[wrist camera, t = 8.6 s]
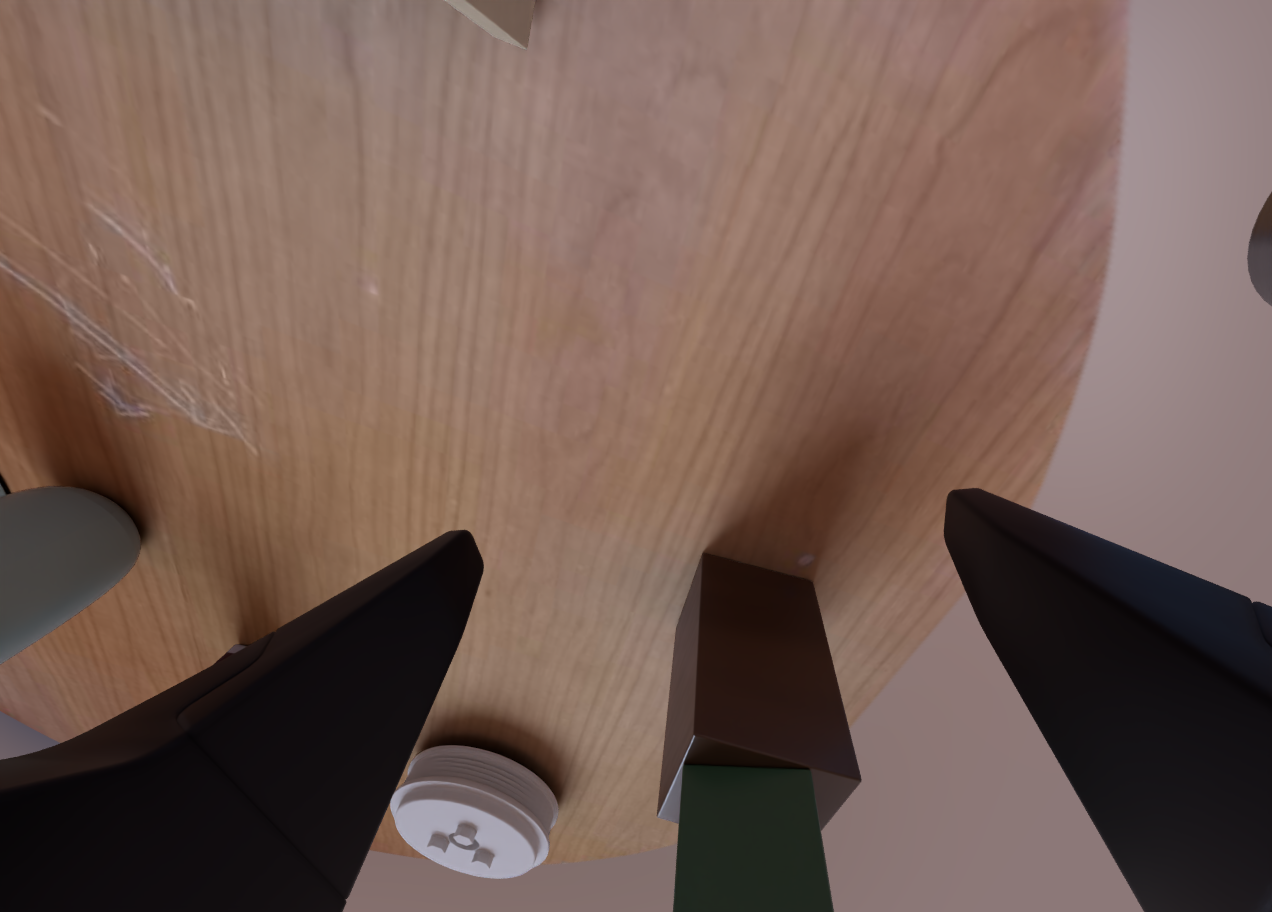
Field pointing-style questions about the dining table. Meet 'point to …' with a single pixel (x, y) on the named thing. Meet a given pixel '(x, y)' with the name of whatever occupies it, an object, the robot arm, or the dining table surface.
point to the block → (749, 842)
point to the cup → (57, 559)
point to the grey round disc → (475, 811)
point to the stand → (755, 685)
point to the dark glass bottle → (2, 490)
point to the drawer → (500, 18)
